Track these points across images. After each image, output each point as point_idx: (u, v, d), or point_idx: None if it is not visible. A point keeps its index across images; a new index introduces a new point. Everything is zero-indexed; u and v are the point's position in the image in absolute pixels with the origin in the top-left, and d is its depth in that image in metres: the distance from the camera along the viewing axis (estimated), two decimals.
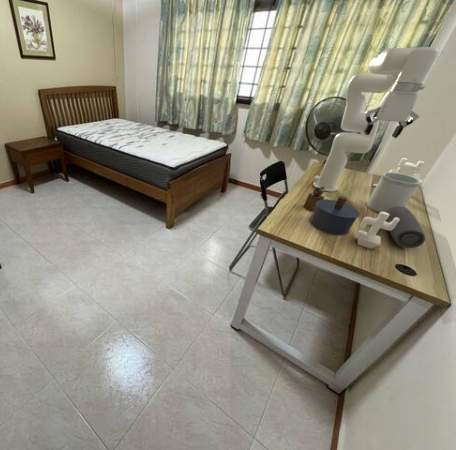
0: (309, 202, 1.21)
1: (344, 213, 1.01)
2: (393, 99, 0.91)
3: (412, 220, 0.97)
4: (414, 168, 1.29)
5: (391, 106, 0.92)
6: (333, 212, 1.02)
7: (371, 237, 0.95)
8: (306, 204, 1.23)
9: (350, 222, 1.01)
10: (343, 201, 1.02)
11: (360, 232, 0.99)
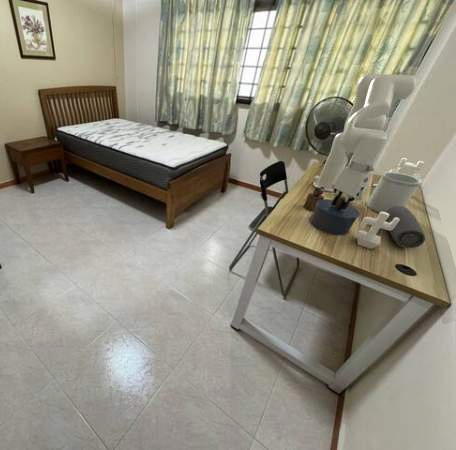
0: (309, 202, 1.21)
1: (344, 213, 1.01)
2: (344, 173, 0.98)
3: (412, 220, 0.97)
4: (414, 168, 1.29)
5: (342, 178, 0.99)
6: (333, 212, 1.02)
7: (371, 237, 0.95)
8: (306, 204, 1.23)
9: (350, 222, 1.01)
10: None
11: (360, 232, 0.99)
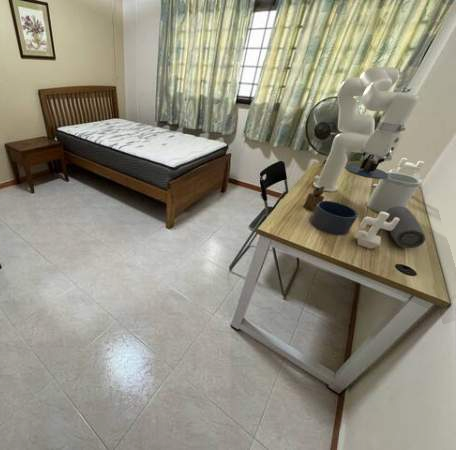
0: (309, 202, 1.21)
1: (373, 174, 1.07)
2: (374, 135, 1.04)
3: (412, 220, 0.97)
4: (414, 168, 1.29)
5: (372, 141, 1.05)
6: (363, 173, 1.07)
7: (371, 237, 0.95)
8: (306, 204, 1.23)
9: (350, 222, 1.01)
10: None
11: (360, 232, 0.99)
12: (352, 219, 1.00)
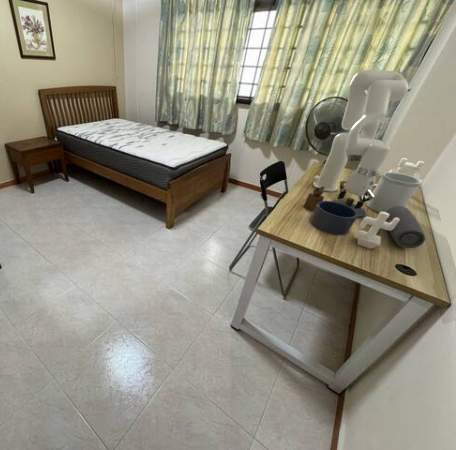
0: (309, 202, 1.21)
1: None
2: (353, 177, 1.15)
3: (412, 220, 0.97)
4: (414, 168, 1.29)
5: (351, 181, 1.16)
6: None
7: (371, 237, 0.95)
8: (306, 204, 1.23)
9: (350, 222, 1.01)
10: (351, 202, 1.19)
11: (360, 232, 0.99)
12: (352, 219, 1.00)
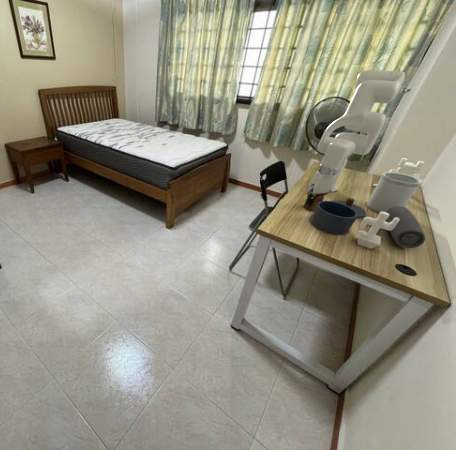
0: None
1: None
2: (324, 180, 1.11)
3: (412, 220, 0.97)
4: (414, 168, 1.29)
5: (322, 184, 1.13)
6: None
7: (371, 237, 0.95)
8: (306, 204, 1.23)
9: (350, 222, 1.01)
10: (351, 202, 1.19)
11: (360, 232, 0.99)
12: (352, 219, 1.00)
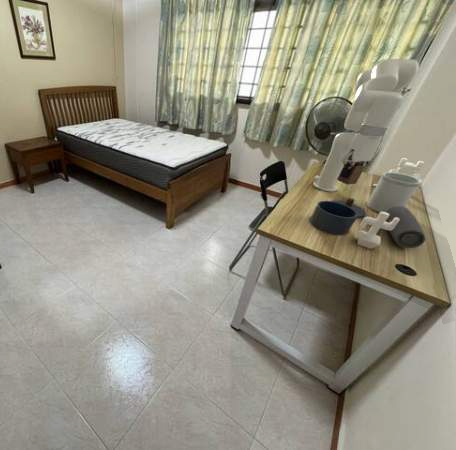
0: None
1: None
2: (367, 143, 0.89)
3: (412, 220, 0.97)
4: (414, 168, 1.29)
5: (365, 149, 0.90)
6: None
7: (371, 237, 0.95)
8: (341, 177, 1.00)
9: (350, 222, 1.01)
10: (351, 202, 1.19)
11: (360, 232, 0.99)
12: (352, 219, 1.00)
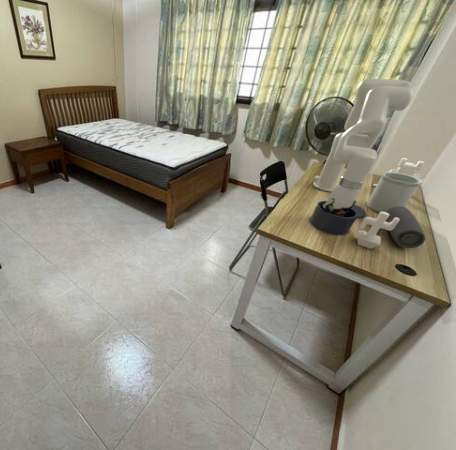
0: None
1: None
2: (346, 194, 0.98)
3: (412, 220, 0.97)
4: (414, 168, 1.29)
5: (344, 199, 1.00)
6: None
7: (371, 237, 0.95)
8: None
9: (350, 222, 1.01)
10: None
11: (360, 232, 0.99)
12: (352, 219, 1.00)
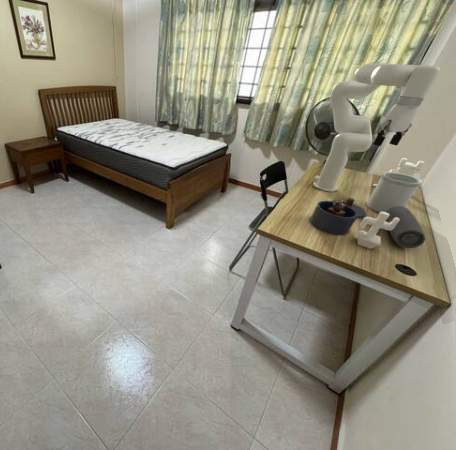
0: None
1: None
2: (404, 113, 0.97)
3: (412, 220, 0.97)
4: (414, 168, 1.29)
5: (401, 119, 0.98)
6: None
7: (371, 237, 0.95)
8: None
9: (350, 222, 1.01)
10: (351, 202, 1.19)
11: (360, 232, 0.99)
12: (352, 219, 1.00)
